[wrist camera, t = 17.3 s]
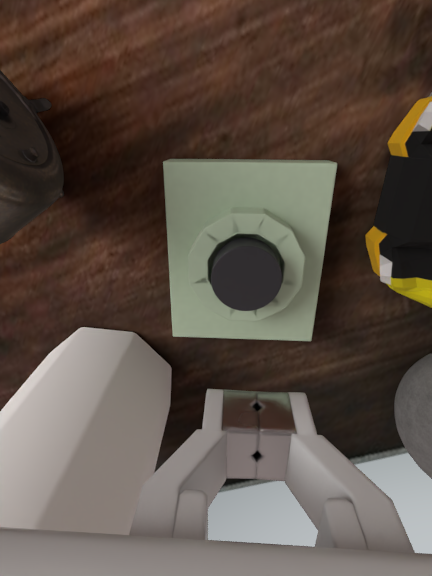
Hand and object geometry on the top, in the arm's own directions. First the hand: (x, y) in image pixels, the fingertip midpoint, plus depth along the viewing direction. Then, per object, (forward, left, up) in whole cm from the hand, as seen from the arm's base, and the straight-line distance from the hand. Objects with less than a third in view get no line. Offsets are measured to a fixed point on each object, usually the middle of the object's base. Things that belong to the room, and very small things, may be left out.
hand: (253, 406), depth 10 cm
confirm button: (0, 0, -11) cm, 11 cm away
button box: (0, 0, -15) cm, 15 cm away
